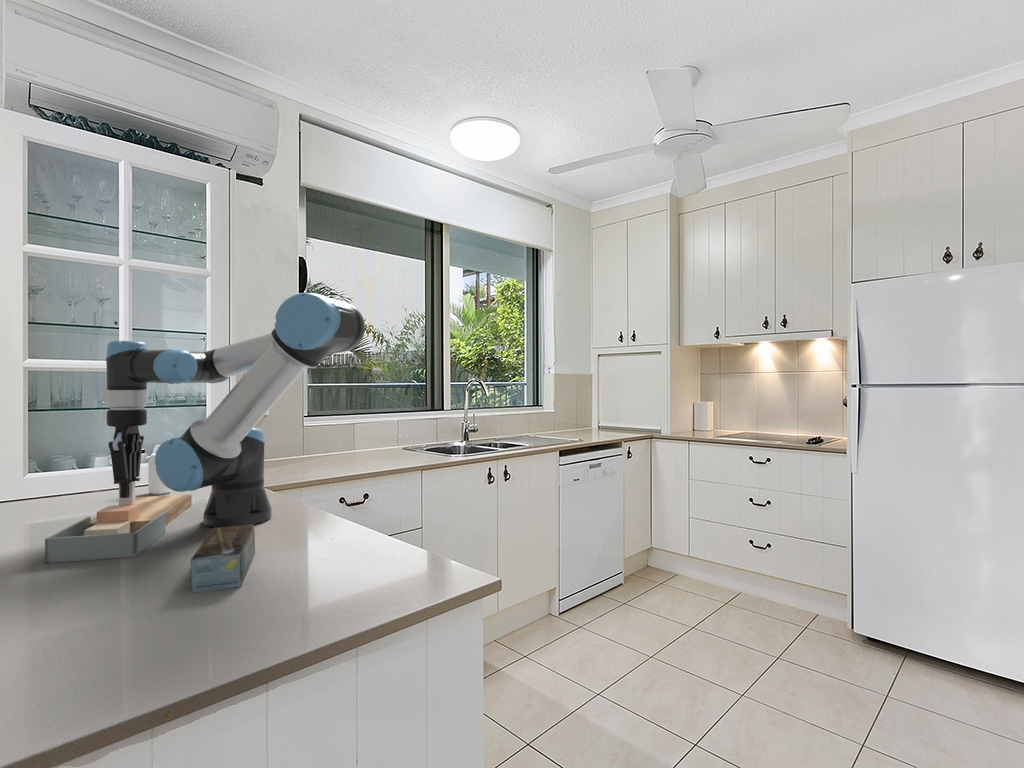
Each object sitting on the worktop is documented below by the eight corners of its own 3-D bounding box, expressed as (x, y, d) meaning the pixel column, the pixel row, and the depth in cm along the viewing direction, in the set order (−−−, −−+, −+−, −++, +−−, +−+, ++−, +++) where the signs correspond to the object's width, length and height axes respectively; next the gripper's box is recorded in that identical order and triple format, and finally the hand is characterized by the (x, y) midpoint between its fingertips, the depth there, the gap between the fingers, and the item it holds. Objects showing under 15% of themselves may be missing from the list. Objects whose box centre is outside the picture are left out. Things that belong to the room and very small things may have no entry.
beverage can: (143, 495, 163) (143, 454, 162) (159, 490, 169) (159, 452, 169) (161, 495, 162) (161, 455, 161) (177, 491, 168) (177, 452, 168)
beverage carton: (187, 594, 89) (187, 554, 89) (211, 558, 107) (211, 524, 107) (241, 588, 91) (241, 549, 91) (256, 554, 110) (256, 521, 110)
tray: (165, 532, 123) (165, 512, 123) (136, 556, 107) (136, 533, 107) (87, 537, 119) (87, 516, 119) (45, 563, 103) (44, 539, 103)
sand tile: (129, 534, 119) (129, 521, 119) (117, 542, 114) (117, 528, 114) (98, 536, 118) (98, 523, 118) (84, 545, 112) (84, 530, 112)
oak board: (191, 505, 150) (191, 494, 150) (155, 533, 123) (155, 520, 123) (132, 508, 146) (132, 497, 146) (82, 538, 119) (82, 524, 119)
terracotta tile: (139, 517, 125) (139, 504, 125) (128, 524, 119) (128, 510, 119) (109, 518, 124) (109, 505, 124) (96, 525, 118) (96, 512, 118)
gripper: (120, 407, 130) (120, 505, 130) (94, 410, 117) (94, 519, 118) (156, 406, 132) (156, 503, 132) (134, 410, 119) (134, 517, 120)
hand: (127, 510), depth 125 cm, fingers closed
